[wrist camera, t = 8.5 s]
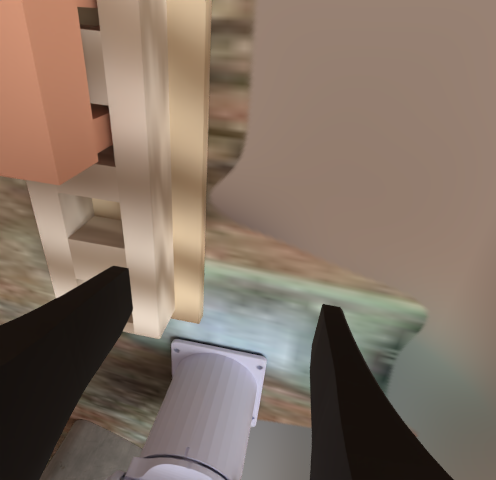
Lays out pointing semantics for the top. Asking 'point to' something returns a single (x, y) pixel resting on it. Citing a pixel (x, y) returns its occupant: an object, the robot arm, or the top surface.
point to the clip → (47, 93)
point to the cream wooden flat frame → (139, 162)
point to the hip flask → (90, 454)
